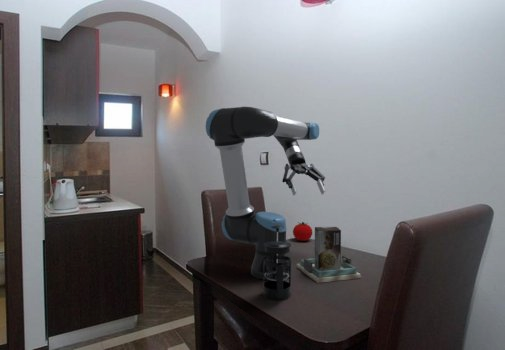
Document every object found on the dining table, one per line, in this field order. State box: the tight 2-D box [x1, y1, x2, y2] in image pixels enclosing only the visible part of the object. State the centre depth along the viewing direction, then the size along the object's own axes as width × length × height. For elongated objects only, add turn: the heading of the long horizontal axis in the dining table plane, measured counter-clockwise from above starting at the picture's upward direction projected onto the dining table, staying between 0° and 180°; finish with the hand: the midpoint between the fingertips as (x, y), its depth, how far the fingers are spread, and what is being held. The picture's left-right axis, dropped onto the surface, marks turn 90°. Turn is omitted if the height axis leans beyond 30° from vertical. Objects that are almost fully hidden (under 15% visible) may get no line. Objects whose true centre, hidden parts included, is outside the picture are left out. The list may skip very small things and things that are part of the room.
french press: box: [262, 225, 292, 301], centre depth 115 cm, size 12×9×23 cm
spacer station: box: [296, 254, 362, 284], centre depth 138 cm, size 18×18×6 cm
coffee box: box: [314, 226, 342, 271], centre depth 137 cm, size 9×6×16 cm
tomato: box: [292, 221, 313, 242], centre depth 188 cm, size 10×10×10 cm
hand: (309, 193), depth 152 cm, fingers open, 13 cm apart
